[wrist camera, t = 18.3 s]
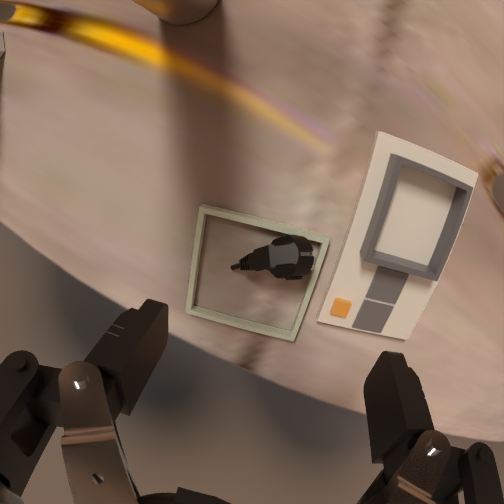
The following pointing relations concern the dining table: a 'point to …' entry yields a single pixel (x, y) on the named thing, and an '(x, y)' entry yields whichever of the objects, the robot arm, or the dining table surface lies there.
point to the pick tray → (262, 223)
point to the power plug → (281, 258)
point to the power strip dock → (397, 238)
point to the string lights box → (1, 44)
